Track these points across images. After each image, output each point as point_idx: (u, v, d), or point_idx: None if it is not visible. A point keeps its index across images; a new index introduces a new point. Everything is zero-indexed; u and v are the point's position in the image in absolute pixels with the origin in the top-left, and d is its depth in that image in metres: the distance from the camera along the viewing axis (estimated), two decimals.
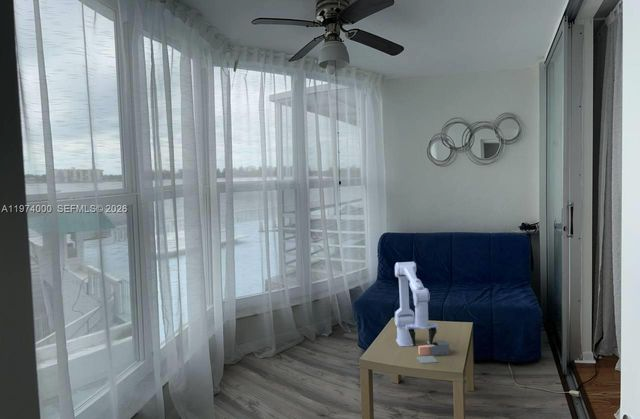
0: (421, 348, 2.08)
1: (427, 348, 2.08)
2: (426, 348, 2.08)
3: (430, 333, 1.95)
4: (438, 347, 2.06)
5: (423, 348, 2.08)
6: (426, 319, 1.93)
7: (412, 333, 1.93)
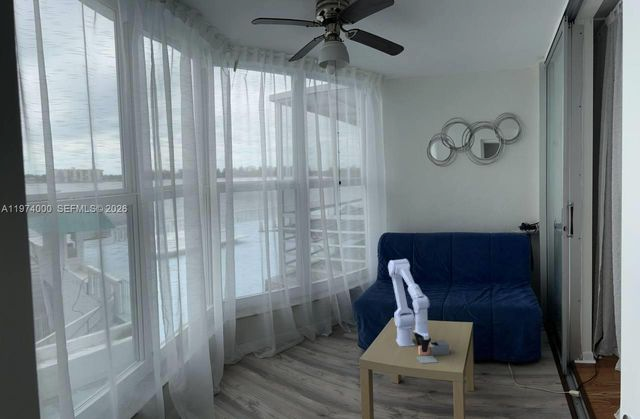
0: (421, 348, 2.08)
1: None
2: None
3: None
4: (438, 347, 2.06)
5: None
6: (418, 325, 2.06)
7: None
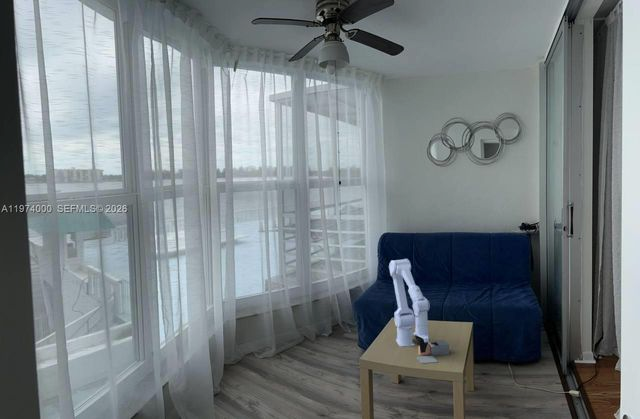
0: None
1: (427, 348, 2.08)
2: (426, 348, 2.08)
3: None
4: (438, 347, 2.06)
5: None
6: (418, 327, 2.06)
7: (415, 337, 2.11)
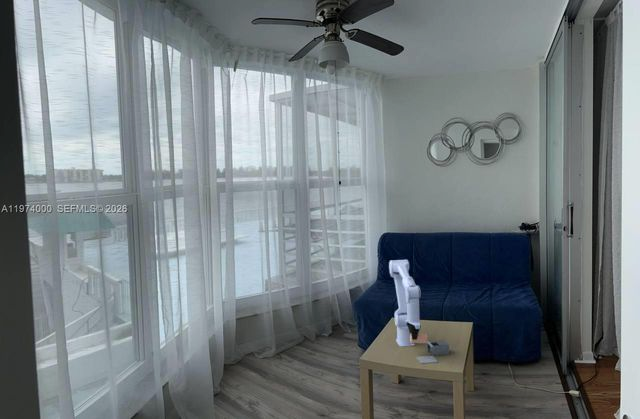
0: None
1: (419, 336, 2.07)
2: (418, 336, 2.07)
3: None
4: (438, 347, 2.06)
5: None
6: (409, 314, 2.06)
7: (406, 324, 2.10)
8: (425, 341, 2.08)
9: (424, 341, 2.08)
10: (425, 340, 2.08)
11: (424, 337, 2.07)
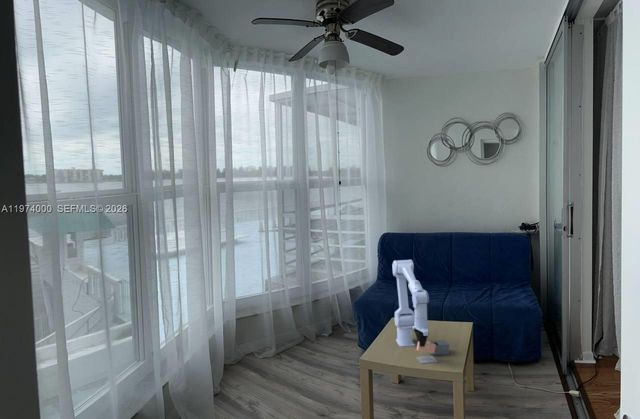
0: None
1: (427, 345, 2.00)
2: (426, 345, 2.00)
3: None
4: (438, 347, 2.06)
5: None
6: (417, 320, 1.99)
7: (414, 330, 2.03)
8: (432, 351, 2.01)
9: (431, 351, 2.01)
10: (432, 349, 2.01)
11: (431, 346, 2.01)
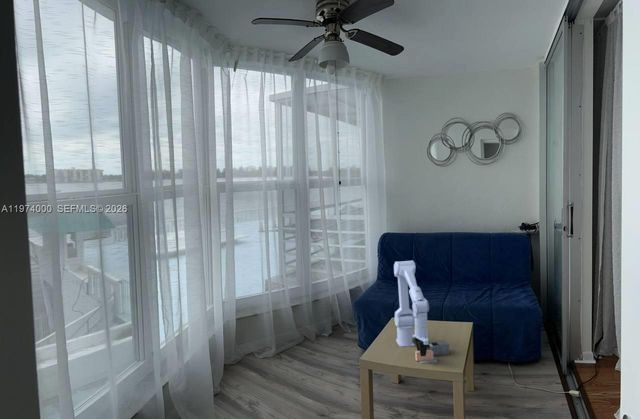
0: (418, 353, 2.00)
1: None
2: None
3: None
4: (438, 347, 2.06)
5: None
6: (417, 329, 1.99)
7: None
8: (431, 357, 2.01)
9: (430, 357, 2.01)
10: (431, 356, 2.01)
11: (429, 353, 2.01)
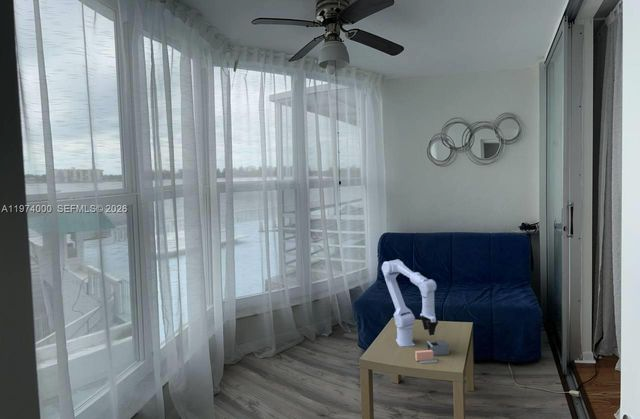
0: (418, 353, 2.00)
1: (424, 353, 2.01)
2: (423, 353, 2.01)
3: None
4: (438, 347, 2.06)
5: (420, 353, 2.00)
6: (424, 308, 2.07)
7: (420, 316, 2.14)
8: (431, 357, 2.01)
9: (430, 357, 2.01)
10: (431, 356, 2.01)
11: (429, 353, 2.01)
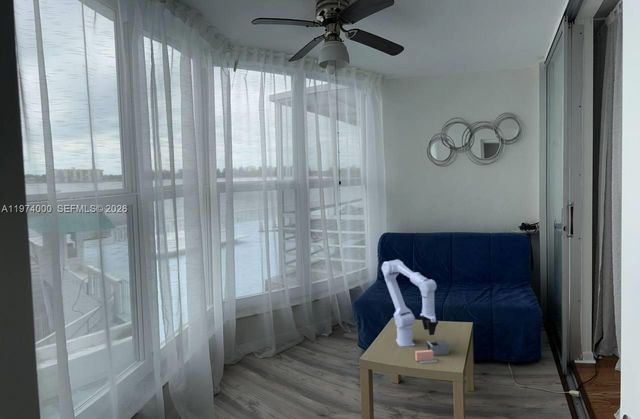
0: (418, 353, 2.00)
1: (424, 353, 2.01)
2: (423, 353, 2.01)
3: None
4: (438, 347, 2.06)
5: (420, 353, 2.00)
6: (425, 308, 2.07)
7: (420, 316, 2.14)
8: (431, 357, 2.01)
9: (430, 357, 2.01)
10: (431, 356, 2.01)
11: (429, 353, 2.01)
